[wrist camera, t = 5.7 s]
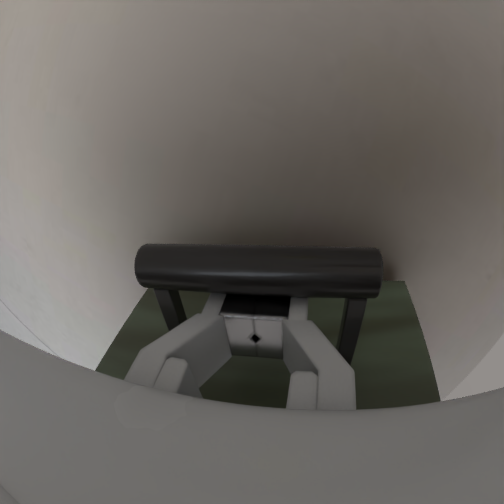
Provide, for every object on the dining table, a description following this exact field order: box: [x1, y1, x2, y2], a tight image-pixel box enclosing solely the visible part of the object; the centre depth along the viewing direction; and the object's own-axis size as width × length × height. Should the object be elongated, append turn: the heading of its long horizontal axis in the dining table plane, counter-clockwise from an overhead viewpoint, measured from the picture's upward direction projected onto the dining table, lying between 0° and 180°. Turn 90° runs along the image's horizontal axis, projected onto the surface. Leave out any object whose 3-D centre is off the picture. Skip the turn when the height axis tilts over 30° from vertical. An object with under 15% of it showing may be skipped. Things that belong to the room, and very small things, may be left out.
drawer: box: [95, 244, 440, 410], centre depth 14 cm, size 20×14×8 cm
